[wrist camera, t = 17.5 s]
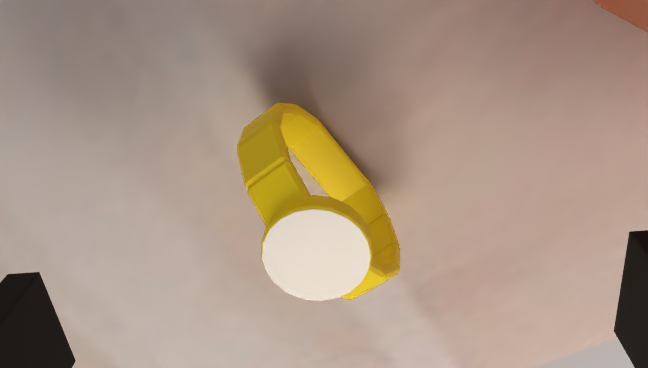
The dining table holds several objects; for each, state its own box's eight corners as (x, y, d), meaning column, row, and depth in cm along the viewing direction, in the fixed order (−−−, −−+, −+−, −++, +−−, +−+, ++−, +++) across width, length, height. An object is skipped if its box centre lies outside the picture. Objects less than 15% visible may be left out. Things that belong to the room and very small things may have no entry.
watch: (411, 197, 21) (435, 310, 15) (348, 238, 21) (349, 359, 16) (301, 64, 18) (284, 143, 13) (236, 116, 19) (195, 209, 14)
